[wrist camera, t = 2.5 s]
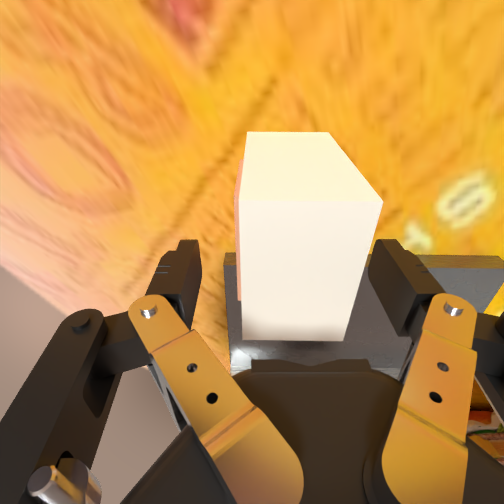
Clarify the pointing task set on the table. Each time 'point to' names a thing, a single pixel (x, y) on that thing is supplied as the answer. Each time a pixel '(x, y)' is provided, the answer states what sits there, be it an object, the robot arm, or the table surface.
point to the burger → (487, 433)
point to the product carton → (300, 236)
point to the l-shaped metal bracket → (363, 317)
